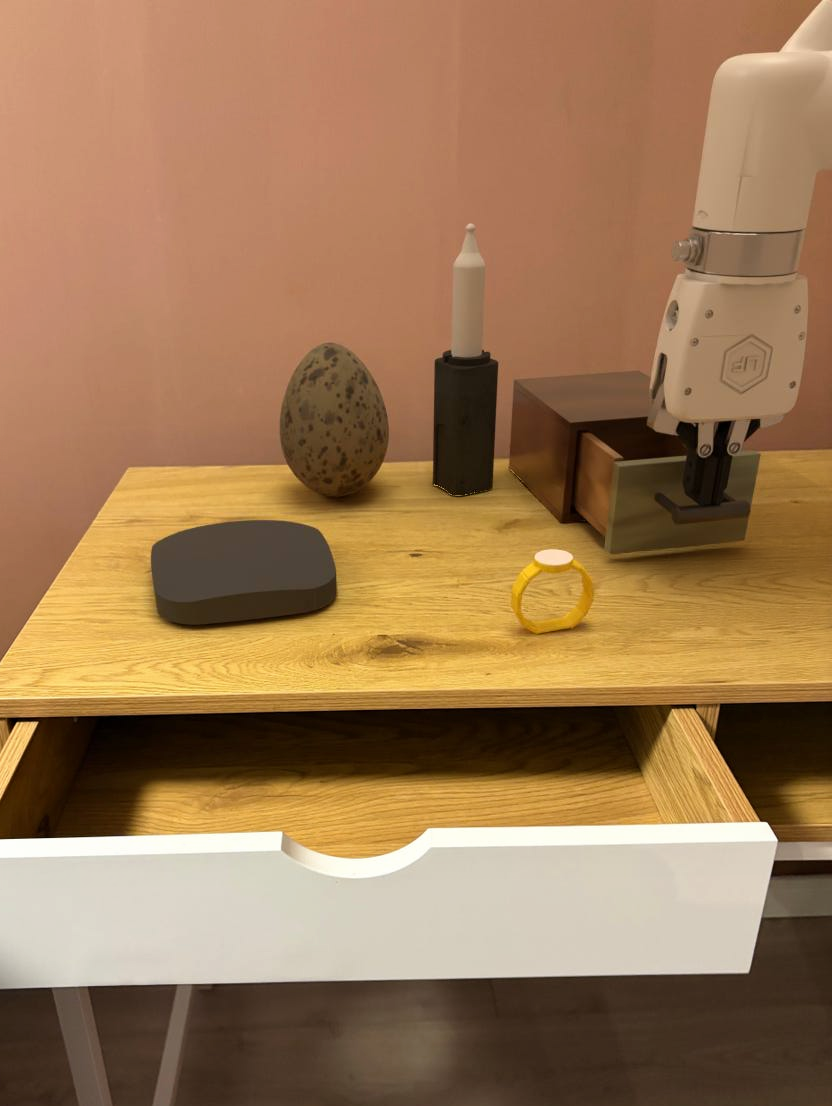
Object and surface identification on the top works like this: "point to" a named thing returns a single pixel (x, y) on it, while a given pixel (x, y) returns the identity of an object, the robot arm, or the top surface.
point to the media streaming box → (242, 572)
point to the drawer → (654, 491)
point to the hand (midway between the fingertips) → (702, 499)
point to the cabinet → (568, 427)
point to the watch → (552, 564)
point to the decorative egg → (333, 422)
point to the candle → (465, 386)
